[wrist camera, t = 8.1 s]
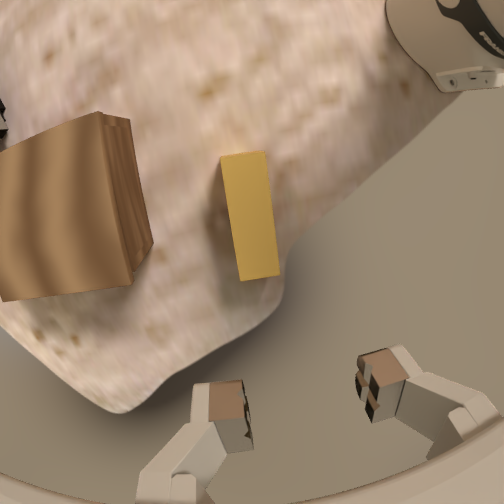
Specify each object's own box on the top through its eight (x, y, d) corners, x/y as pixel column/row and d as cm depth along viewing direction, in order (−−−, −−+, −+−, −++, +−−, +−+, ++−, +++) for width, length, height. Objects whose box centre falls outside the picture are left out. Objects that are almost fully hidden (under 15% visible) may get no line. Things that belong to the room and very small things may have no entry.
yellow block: (259, 150, 30) (264, 151, 26) (273, 256, 35) (280, 274, 30) (221, 156, 30) (219, 158, 26) (238, 262, 35) (240, 281, 30)
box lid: (102, 112, 20) (97, 110, 19) (134, 280, 24) (131, 284, 23) (-23, 167, 20) (-29, 168, 19) (7, 298, 24) (2, 302, 23)
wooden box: (129, 119, 28) (101, 113, 20) (153, 242, 33) (134, 271, 25) (19, 158, 27) (-21, 167, 20) (45, 263, 32) (12, 290, 25)
